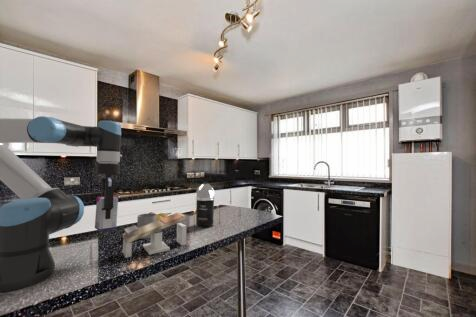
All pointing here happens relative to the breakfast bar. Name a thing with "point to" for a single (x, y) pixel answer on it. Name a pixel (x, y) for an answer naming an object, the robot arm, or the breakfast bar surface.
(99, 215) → the supplement box
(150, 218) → the cup
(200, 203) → the spray bottle
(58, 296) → the breakfast bar surface
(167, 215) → the bread roll
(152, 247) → the beam stand
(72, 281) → the breakfast bar surface
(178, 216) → the beam
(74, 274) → the breakfast bar surface
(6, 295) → the breakfast bar surface
